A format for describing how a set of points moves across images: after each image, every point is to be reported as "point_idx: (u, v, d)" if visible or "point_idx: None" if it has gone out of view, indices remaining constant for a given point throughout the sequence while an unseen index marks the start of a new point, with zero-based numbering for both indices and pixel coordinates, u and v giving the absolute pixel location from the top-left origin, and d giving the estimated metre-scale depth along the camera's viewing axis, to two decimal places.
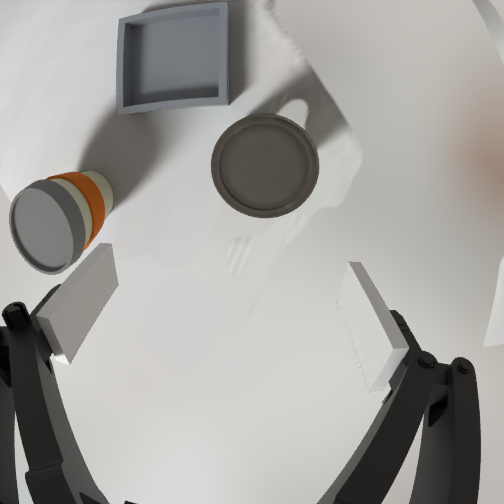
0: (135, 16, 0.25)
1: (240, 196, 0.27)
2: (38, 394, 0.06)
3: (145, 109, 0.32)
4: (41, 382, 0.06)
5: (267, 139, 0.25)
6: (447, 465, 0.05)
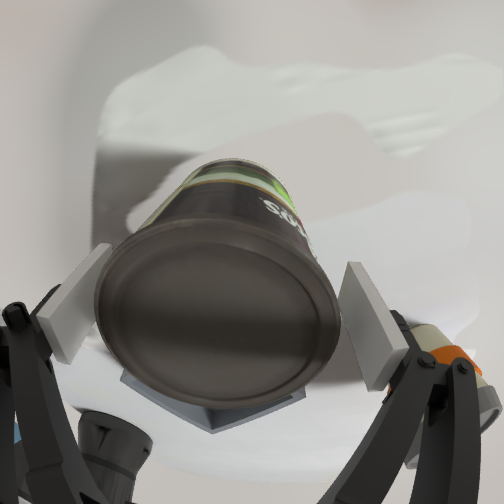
0: (200, 426, 0.32)
1: (306, 337, 0.11)
2: (38, 394, 0.06)
3: None
4: (41, 382, 0.06)
5: (168, 363, 0.12)
6: (447, 465, 0.05)
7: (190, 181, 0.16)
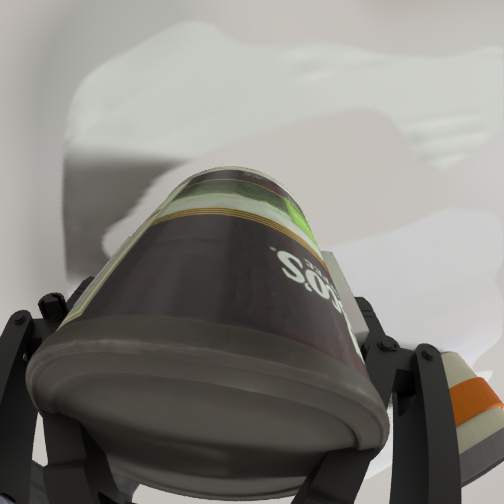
0: None
1: None
2: None
3: None
4: None
5: (144, 467, 0.07)
6: (422, 455, 0.05)
7: (167, 206, 0.11)
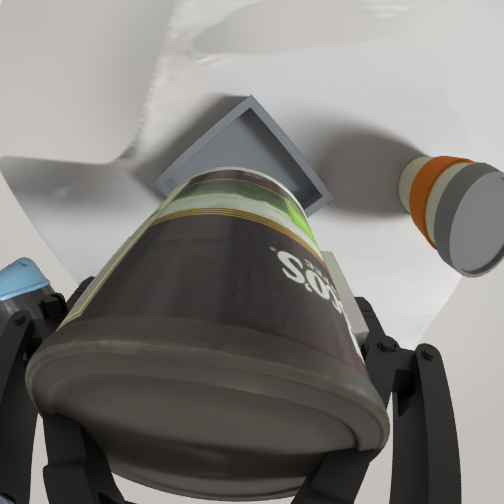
0: None
1: None
2: None
3: (311, 170, 0.31)
4: None
5: (143, 468, 0.07)
6: (422, 456, 0.05)
7: (167, 206, 0.11)
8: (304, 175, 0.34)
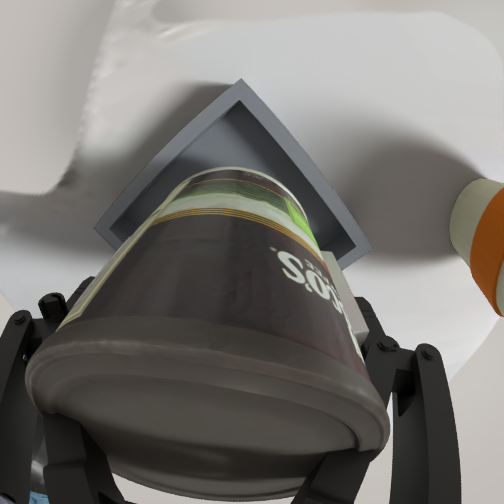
0: None
1: None
2: None
3: (342, 206, 0.19)
4: None
5: (143, 468, 0.07)
6: (422, 455, 0.05)
7: (167, 206, 0.11)
8: (326, 209, 0.22)
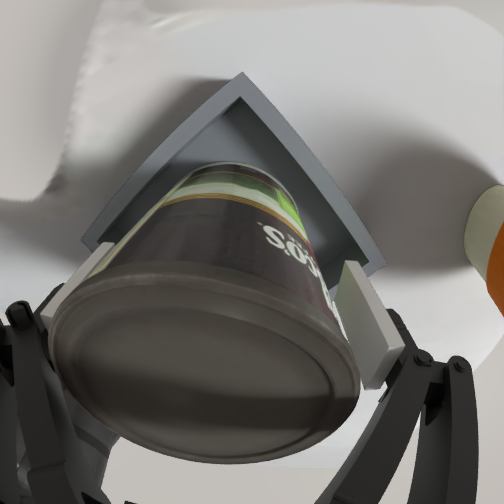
0: None
1: (314, 408, 0.08)
2: (41, 394, 0.06)
3: (355, 218, 0.16)
4: (44, 381, 0.06)
5: (145, 423, 0.09)
6: (444, 464, 0.05)
7: (173, 193, 0.13)
8: (336, 220, 0.20)
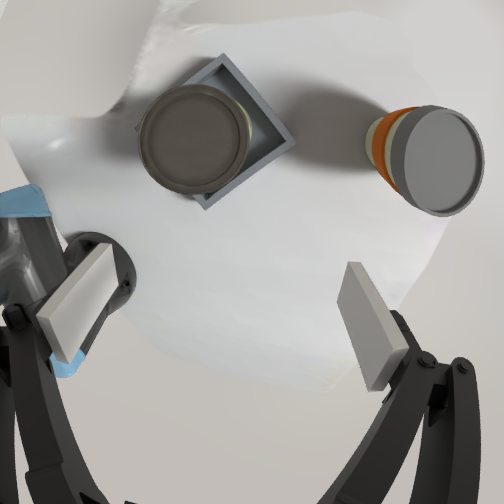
0: (194, 195, 0.37)
1: (233, 139, 0.23)
2: (38, 395, 0.06)
3: (275, 117, 0.32)
4: (41, 382, 0.06)
5: (168, 157, 0.24)
6: (447, 465, 0.05)
7: None
8: (271, 126, 0.35)
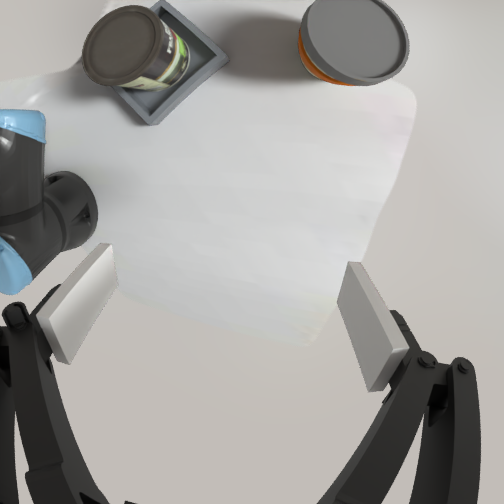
0: (140, 113, 0.35)
1: (150, 36, 0.22)
2: (38, 394, 0.06)
3: (206, 37, 0.30)
4: (41, 382, 0.06)
5: (102, 60, 0.23)
6: (447, 465, 0.05)
7: None
8: (207, 49, 0.34)
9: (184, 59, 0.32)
